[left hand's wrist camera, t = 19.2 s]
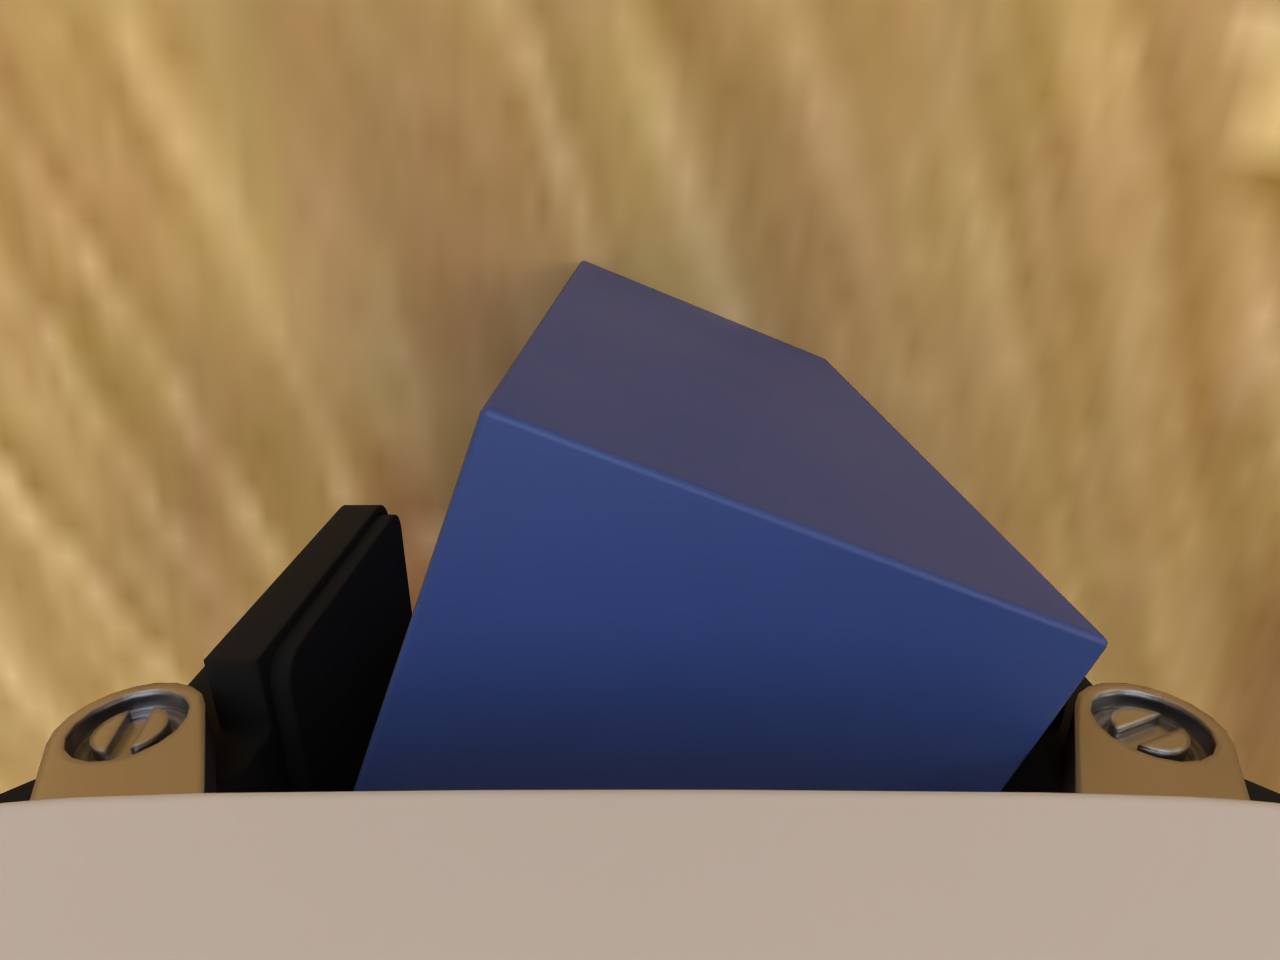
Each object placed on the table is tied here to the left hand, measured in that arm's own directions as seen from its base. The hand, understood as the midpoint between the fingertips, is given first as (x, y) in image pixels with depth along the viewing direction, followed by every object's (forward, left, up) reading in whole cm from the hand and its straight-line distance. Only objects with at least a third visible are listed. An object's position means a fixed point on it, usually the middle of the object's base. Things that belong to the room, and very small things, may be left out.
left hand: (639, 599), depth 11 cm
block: (0, 0, -5) cm, 5 cm away
